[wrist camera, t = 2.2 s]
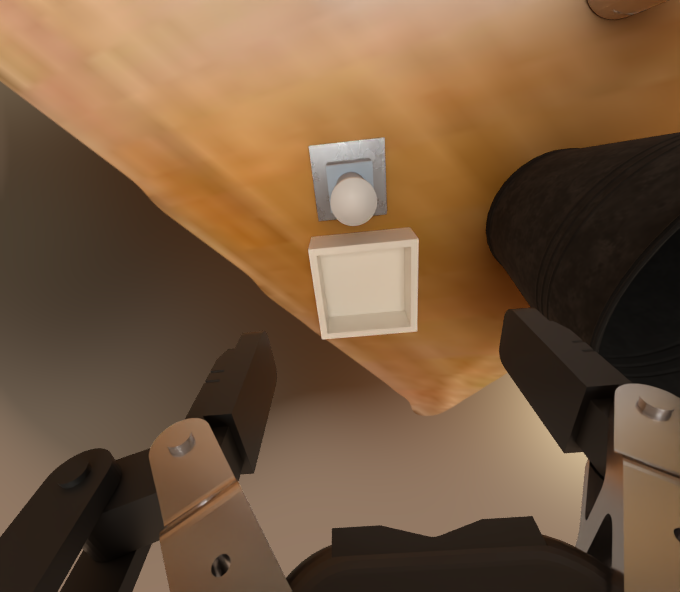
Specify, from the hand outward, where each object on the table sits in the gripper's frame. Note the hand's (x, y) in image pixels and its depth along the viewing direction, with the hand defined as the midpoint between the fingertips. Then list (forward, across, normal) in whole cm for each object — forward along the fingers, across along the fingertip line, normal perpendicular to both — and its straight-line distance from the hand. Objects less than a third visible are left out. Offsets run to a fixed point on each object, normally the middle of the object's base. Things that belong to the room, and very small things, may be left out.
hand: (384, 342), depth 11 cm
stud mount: (+38, 0, 0) cm, 38 cm away
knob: (+37, 0, 0) cm, 37 cm away
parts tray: (+38, -1, +15) cm, 41 cm away
